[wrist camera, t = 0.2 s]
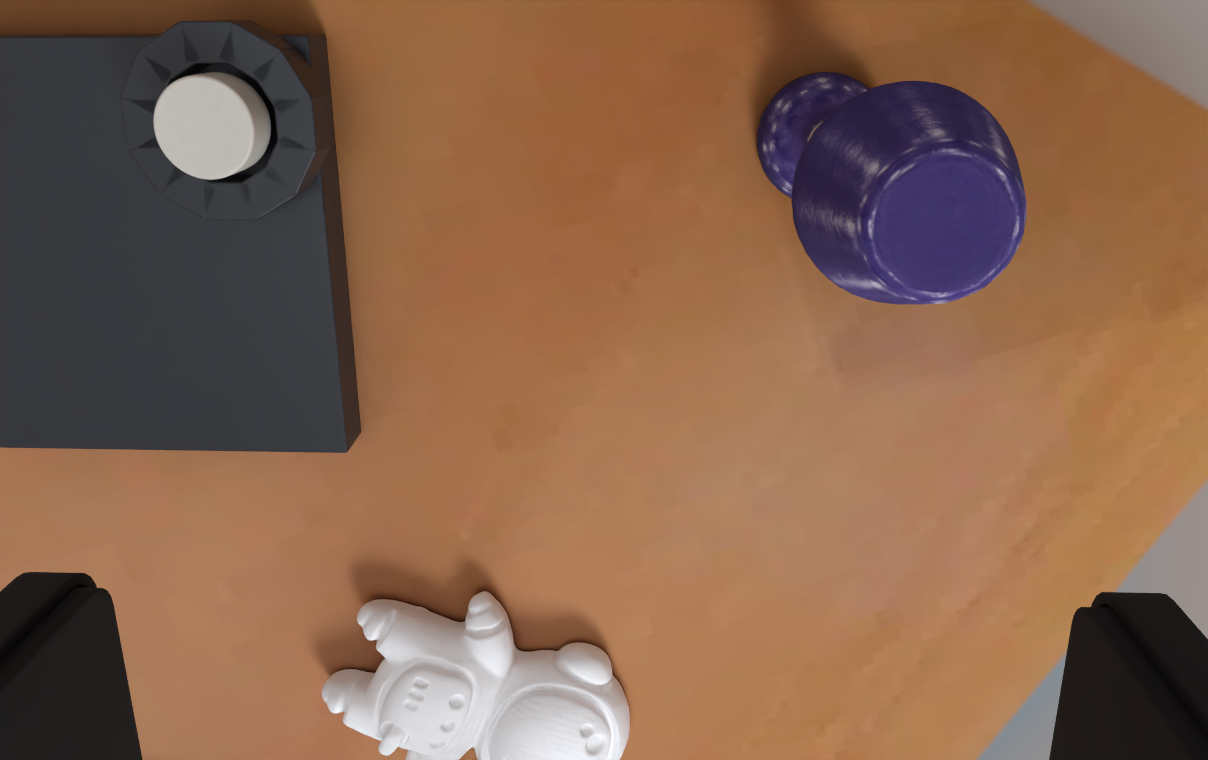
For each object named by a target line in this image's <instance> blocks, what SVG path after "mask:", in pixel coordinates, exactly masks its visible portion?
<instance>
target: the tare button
mask: <svg viewBox="0 0 1208 760" xmlns="http://www.w3.org/2000/svg"><path fill="white" fill-rule="evenodd" d="M153 122H154V131H155V135H156V138H157V141H158V143H159V146H160V148H161V149H162V151H163V153H164V154H165V155H166V157H167V158H168V159H169V160H170V161H171V162H172V163H173V164H174V165H175V166H176V167H177V168H179V169H180V170H182V171H183V172H185V173H187V174H189V175H191V176H194V177H197V178H201V179H209V180H213V179H221V178H225V177H228V176H230V175H233V174H235V173H238V172H240V171H243V170H245V169H247V168H249V167H251V166H252V165H254V164H255V163H256V162H257V161H258V160H259V159H260V158H261V157H262V156H263V154H264V153H265V151H266V149H267V147H268V144H269V141H270V136H271V122H270V116H269V113H268V110H267V108H266V105H265V103H264V101H263V100H262V98H261V97H260V95H259V94H258V93H257V91H256V90H255V89H254V88H253V87H252V86H250V85H249V84H248V83H247V82H245V81H244V80H242V79H240V78H238V77H236V76H234V75H231V74H228V73H223V72H209V73H203V74H196V75H190V76H185V77H182V78H180V79H178V80H176V81H174V82H172V83H171V84H170V85H169V86H167V87H166V89H165V90H164V91H163V92H162V94H161V95H160V97H159V99H158V101H157V103H156V106H155V111H154V121H153Z"/></svg>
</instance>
